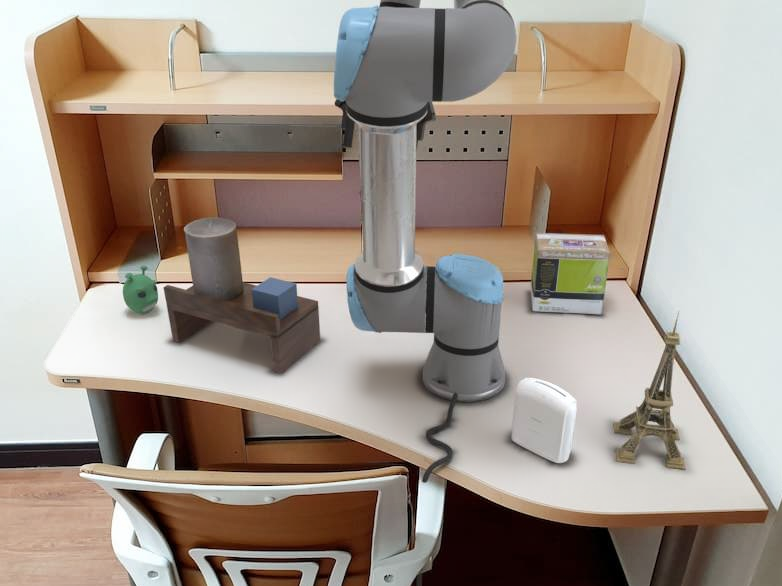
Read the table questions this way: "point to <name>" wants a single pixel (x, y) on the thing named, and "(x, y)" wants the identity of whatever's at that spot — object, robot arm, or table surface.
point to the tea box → (569, 273)
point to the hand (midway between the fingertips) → (378, 152)
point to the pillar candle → (214, 257)
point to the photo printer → (544, 419)
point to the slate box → (275, 296)
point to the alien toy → (140, 292)
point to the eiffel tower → (654, 412)
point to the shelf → (246, 321)
